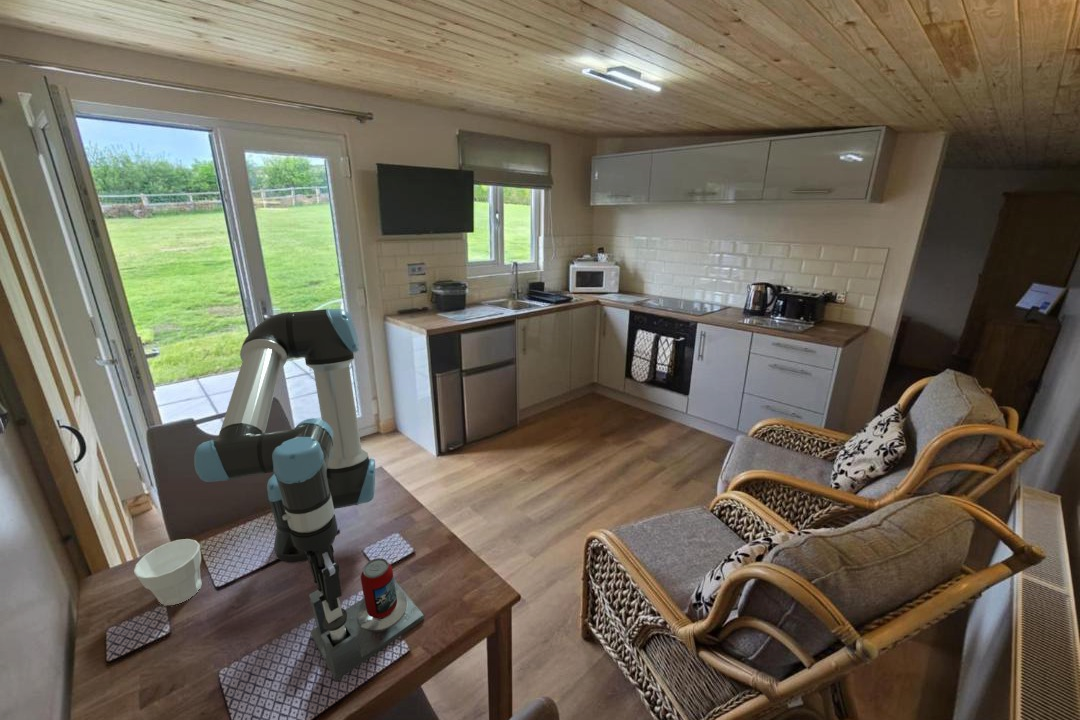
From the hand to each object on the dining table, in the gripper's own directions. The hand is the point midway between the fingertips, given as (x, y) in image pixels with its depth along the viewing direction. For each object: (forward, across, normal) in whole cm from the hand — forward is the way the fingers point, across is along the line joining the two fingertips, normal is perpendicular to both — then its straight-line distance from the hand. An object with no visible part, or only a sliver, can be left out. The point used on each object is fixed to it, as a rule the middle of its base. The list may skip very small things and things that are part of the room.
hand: (334, 616), depth 89 cm
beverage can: (+11, -5, +11) cm, 17 cm away
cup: (+13, -46, -22) cm, 53 cm away
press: (+13, -4, +7) cm, 15 cm away
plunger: (+9, 0, 0) cm, 9 cm away
